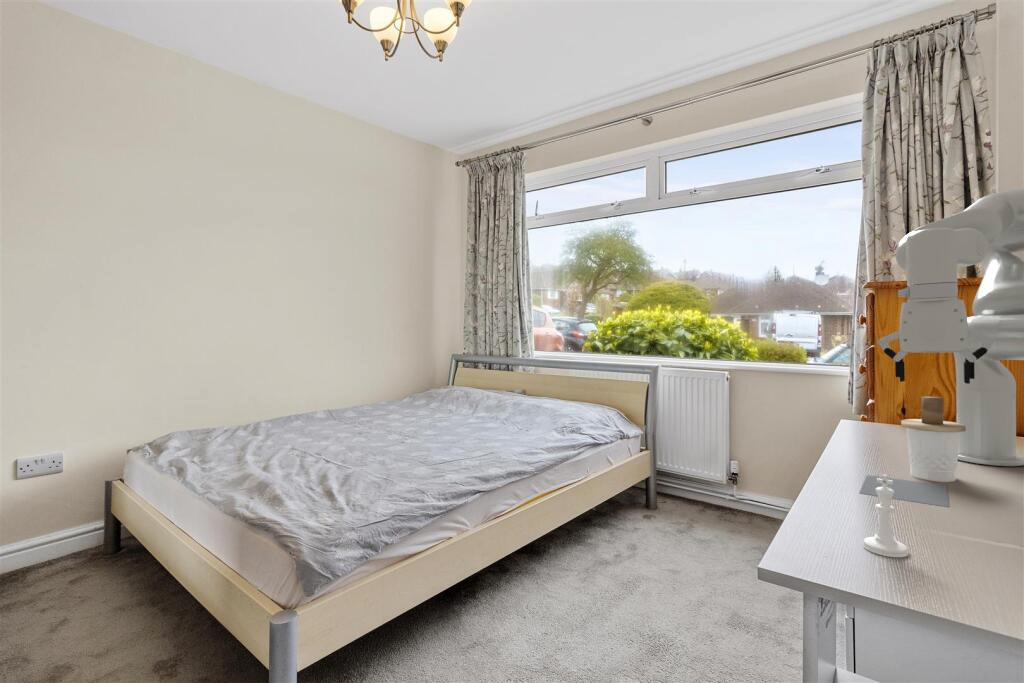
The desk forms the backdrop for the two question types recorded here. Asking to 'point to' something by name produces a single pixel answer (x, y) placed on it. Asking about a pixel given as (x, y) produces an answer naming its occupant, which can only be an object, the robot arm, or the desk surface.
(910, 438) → the white cup
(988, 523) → the desk surface
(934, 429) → the lid
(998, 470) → the desk surface
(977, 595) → the desk surface
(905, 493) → the mat
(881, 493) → the chess piece
